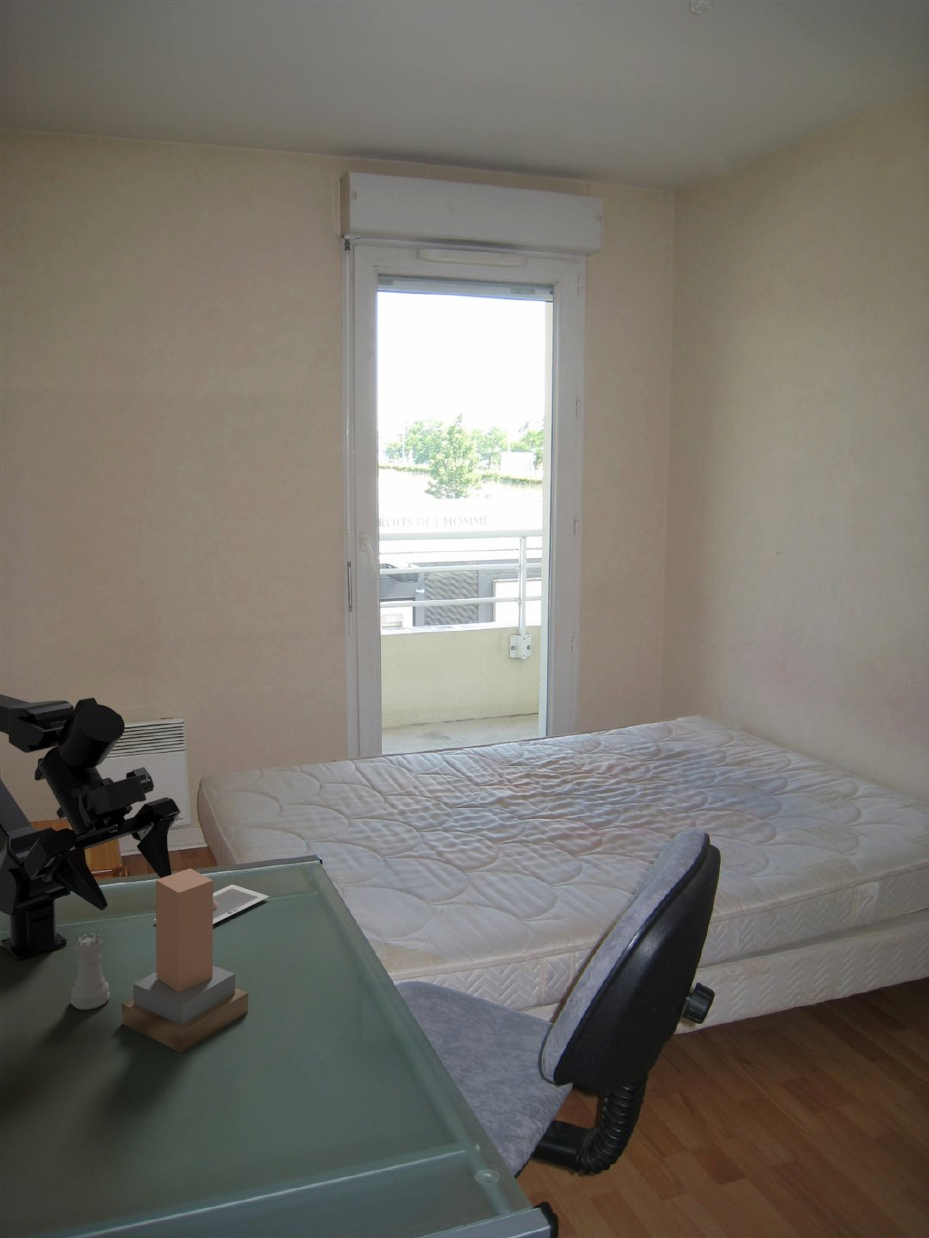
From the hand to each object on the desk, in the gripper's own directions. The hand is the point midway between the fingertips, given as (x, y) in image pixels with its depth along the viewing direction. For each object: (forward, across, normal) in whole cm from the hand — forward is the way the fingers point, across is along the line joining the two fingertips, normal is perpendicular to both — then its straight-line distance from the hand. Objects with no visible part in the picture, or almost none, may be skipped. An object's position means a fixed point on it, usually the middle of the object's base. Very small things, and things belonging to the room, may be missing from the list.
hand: (138, 894), depth 111 cm
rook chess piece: (+6, -4, +12) cm, 14 cm away
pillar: (+11, 0, 0) cm, 11 cm away
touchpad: (+2, +21, +18) cm, 28 cm away
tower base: (+15, 0, +4) cm, 16 cm away
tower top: (+13, 0, +2) cm, 13 cm away
